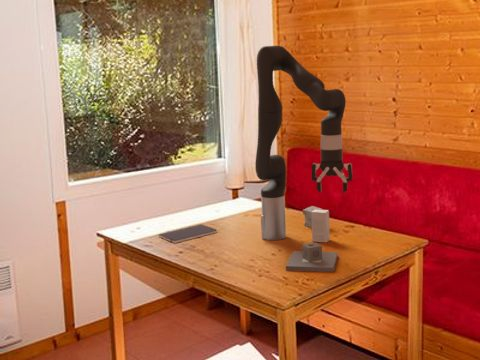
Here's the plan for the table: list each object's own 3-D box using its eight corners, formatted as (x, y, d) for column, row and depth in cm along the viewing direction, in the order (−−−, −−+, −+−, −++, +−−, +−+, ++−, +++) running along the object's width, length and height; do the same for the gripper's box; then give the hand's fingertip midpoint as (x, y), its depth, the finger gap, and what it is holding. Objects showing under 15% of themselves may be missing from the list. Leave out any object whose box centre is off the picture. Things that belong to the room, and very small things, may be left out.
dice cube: (302, 258, 211) (302, 244, 210) (314, 255, 213) (314, 242, 212) (309, 262, 207) (309, 248, 206) (322, 259, 209) (321, 245, 208)
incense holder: (302, 226, 256) (301, 207, 254) (314, 223, 259) (314, 205, 258) (313, 230, 249) (313, 211, 248) (326, 227, 253) (325, 208, 251)
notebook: (201, 227, 264) (158, 238, 252) (201, 224, 264) (158, 234, 251) (217, 233, 254) (174, 244, 242) (217, 229, 254) (173, 240, 241)
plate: (286, 270, 205) (285, 265, 204) (293, 254, 220) (293, 250, 220) (333, 272, 201) (333, 267, 201) (337, 256, 216) (337, 252, 216)
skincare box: (330, 239, 236) (329, 210, 233) (326, 242, 232) (326, 212, 230) (315, 238, 238) (314, 209, 236) (311, 241, 234) (310, 211, 232)
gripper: (309, 149, 209) (310, 194, 212) (351, 148, 205) (351, 195, 209) (312, 145, 216) (313, 189, 219) (353, 145, 212) (353, 190, 216)
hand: (332, 192), depth 214 cm, fingers open, 8 cm apart
